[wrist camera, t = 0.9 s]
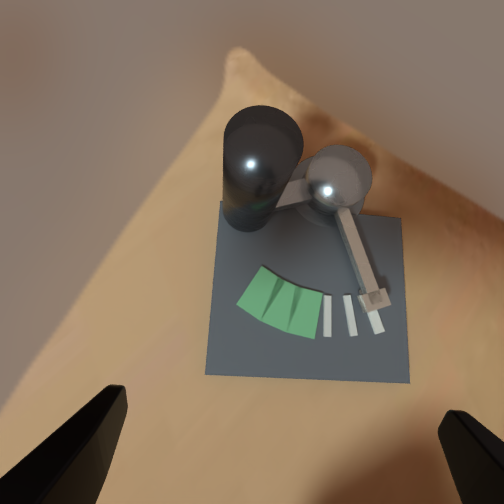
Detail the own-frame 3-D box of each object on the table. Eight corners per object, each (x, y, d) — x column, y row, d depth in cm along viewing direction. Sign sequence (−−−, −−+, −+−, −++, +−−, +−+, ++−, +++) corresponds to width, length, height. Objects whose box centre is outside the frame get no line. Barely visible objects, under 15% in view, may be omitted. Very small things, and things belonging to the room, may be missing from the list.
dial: (345, 157, 23) (413, 68, 15) (399, 300, 21) (515, 289, 13) (215, 186, 21) (211, 105, 13) (261, 345, 19) (291, 366, 11)
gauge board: (401, 380, 21) (411, 384, 20) (205, 371, 20) (204, 375, 19) (391, 169, 25) (399, 161, 24) (225, 150, 24) (225, 142, 22)
